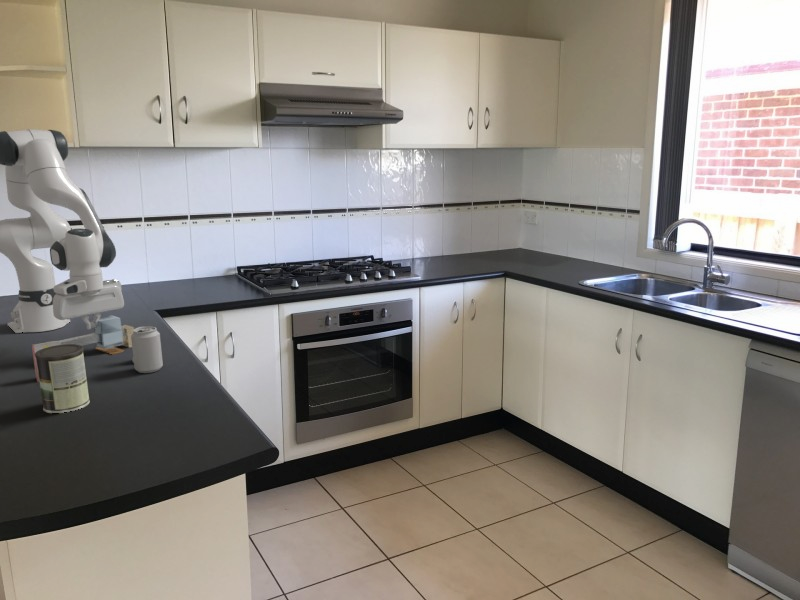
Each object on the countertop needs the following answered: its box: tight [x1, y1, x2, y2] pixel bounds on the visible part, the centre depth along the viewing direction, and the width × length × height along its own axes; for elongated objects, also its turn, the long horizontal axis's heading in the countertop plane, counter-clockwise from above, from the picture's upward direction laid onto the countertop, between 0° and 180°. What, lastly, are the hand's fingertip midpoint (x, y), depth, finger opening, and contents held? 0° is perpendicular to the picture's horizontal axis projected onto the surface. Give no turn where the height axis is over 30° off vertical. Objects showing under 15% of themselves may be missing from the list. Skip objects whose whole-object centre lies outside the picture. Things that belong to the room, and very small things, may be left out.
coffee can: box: [35, 344, 91, 414], centre depth 159 cm, size 10×10×14 cm
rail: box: [45, 324, 135, 355], centre depth 202 cm, size 10×25×6 cm, turn 141°
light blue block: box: [92, 315, 123, 349], centre depth 205 cm, size 5×6×9 cm
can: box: [131, 326, 164, 374], centre depth 185 cm, size 8×8×12 cm
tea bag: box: [31, 340, 60, 383], centre depth 180 cm, size 4×7×10 cm, turn 122°
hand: (92, 328), depth 201 cm, fingers closed
